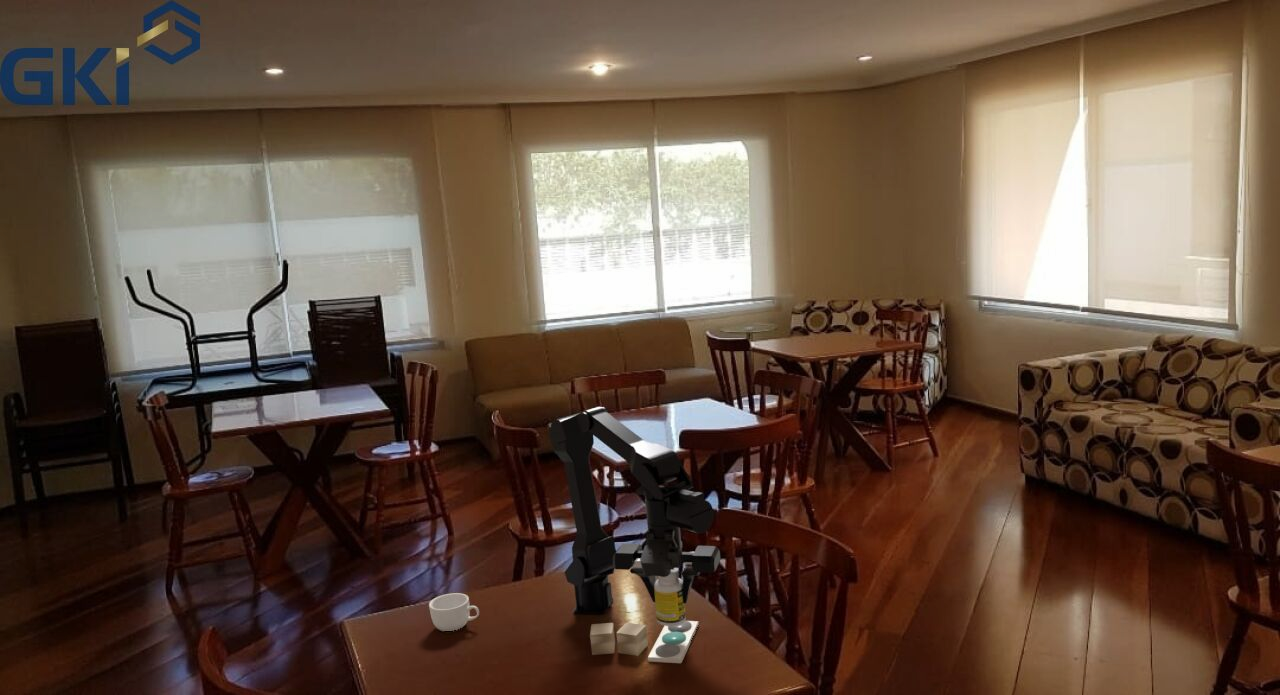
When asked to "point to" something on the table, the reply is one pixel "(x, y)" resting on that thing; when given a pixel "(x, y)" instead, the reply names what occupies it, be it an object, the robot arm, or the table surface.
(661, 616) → the supplement bottle
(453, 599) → the teacup
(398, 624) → the table surface
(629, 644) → the beech block
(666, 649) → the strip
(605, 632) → the beech block
